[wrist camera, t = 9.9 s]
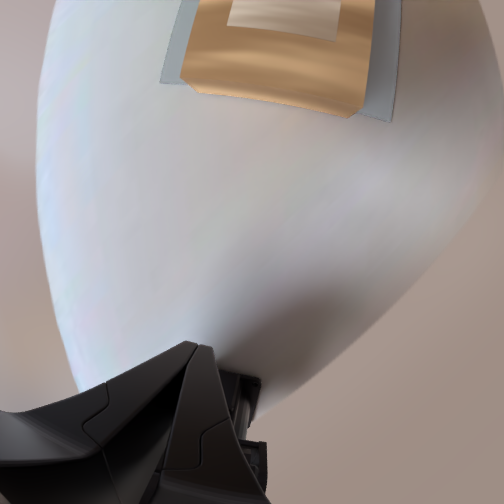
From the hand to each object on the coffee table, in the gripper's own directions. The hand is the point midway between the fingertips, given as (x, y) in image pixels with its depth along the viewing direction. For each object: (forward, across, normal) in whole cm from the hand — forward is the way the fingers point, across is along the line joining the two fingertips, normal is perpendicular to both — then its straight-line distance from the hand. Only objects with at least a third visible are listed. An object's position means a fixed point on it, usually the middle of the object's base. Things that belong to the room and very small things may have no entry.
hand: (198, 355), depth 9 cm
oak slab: (+11, 0, -10) cm, 15 cm away
